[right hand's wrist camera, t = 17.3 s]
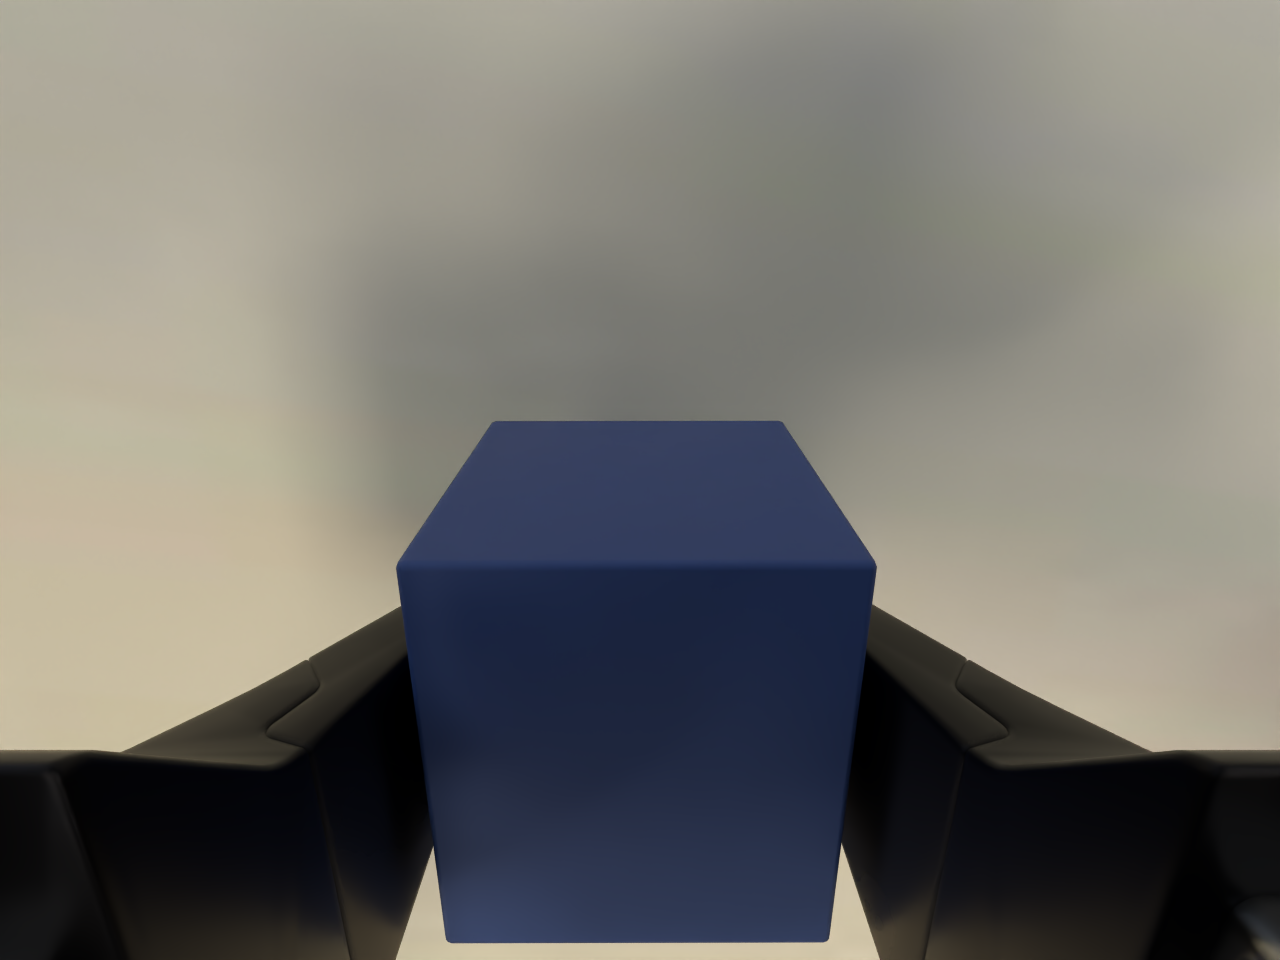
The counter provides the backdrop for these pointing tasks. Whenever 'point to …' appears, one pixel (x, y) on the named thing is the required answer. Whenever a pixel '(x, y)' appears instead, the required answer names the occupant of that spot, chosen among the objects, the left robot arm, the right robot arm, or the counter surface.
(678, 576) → the blue cube
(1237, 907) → the right robot arm
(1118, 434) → the counter surface
